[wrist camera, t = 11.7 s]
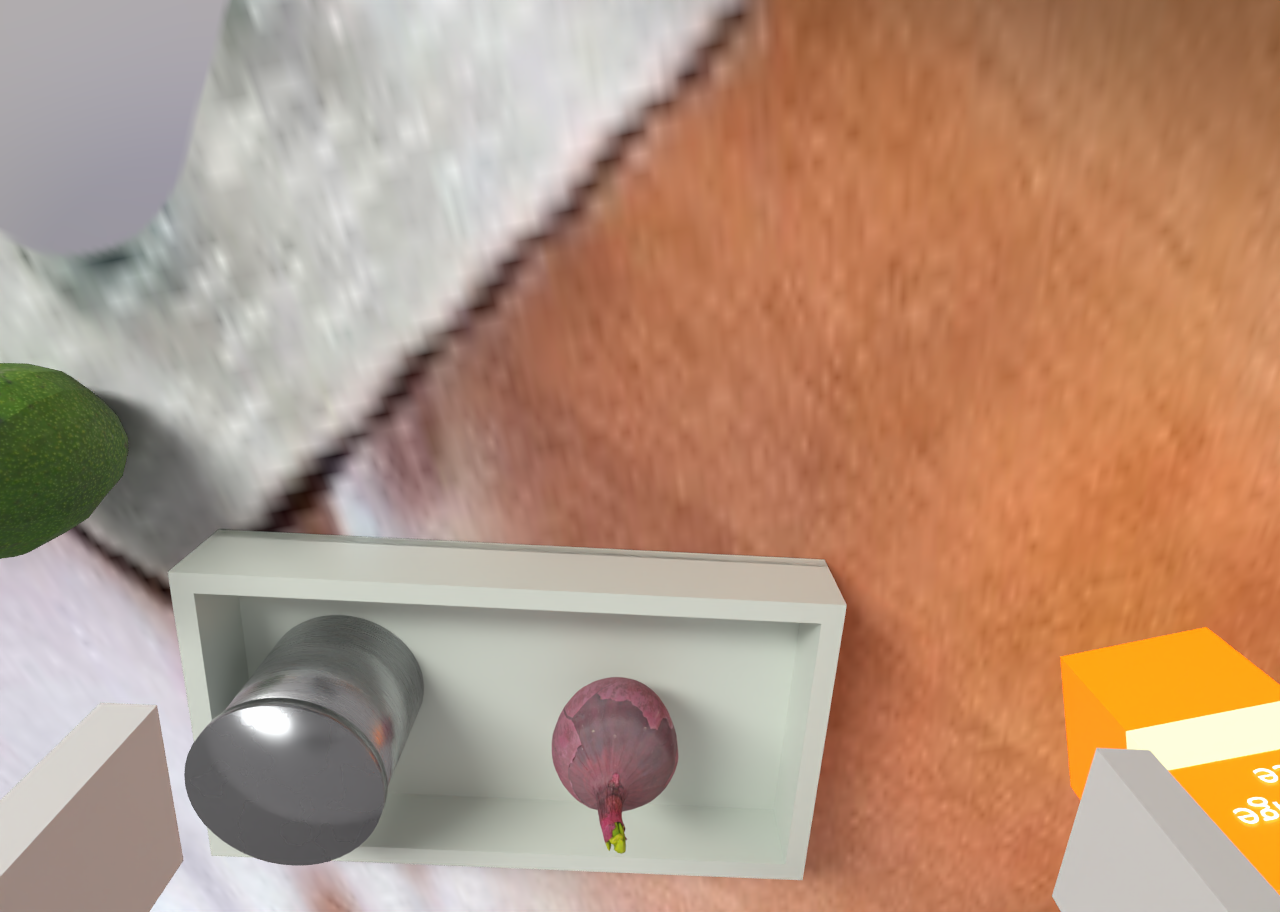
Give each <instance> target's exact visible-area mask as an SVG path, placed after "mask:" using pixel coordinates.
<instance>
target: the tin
mask: <svg viewBox="0 0 1280 912" xmlns="http://www.w3.org/2000/svg"><path fill="white" fill-rule="evenodd" d="M423 696H424V682H423V676H422V672H421V669H420V666H419V664H418V662H417V660H416V658H415V657H414V655H413V653H412V652H411V651H410V649H409V648H408V647H407V646H406V644H405V643H404V642H403V641H402V640H401V639H400V638H398V637H397V636H396V635H394V634H393V633H392V632H391V631H389V630H387V629H386V628H384V627H382V626H380V625H378V624H376V623H374V622H372V621H369V620H366V619H363V618H358V617H354V616H346V615H327V616H320V617H316V618H312V619H309V620H307V621H304V622H302V623H300V624H298V625H296V626H294V627H293V628H292V629H290V630H289V631H288V632H286V633H285V634H284V636H283V637H282V638H281V639H280V640H279V641H278V642H277V644H276V645H275V646H274V648H273V649H272V650H271V651H270V653H269V654H268V655H267V657H266V658H265V659H264V660H263V662H262V663H261V664H260V666H259V667H258V668H257V669H256V671H255V672H254V673H253V675H252V676H251V677H250V678H249V680H248V681H247V682H246V684H245V685H244V686H243V687H242V689H241V690H240V691H239V693H238V694H237V695H236V696H235V698H234V699H233V700H232V702H231V703H230V704H229V705H228V707H227V708H226V709H225V711H224V712H222V713H221V714H219V715H218V716H217V717H215V718H214V719H213V720H212V721H211V722H210V723H209V724H208V725H207V726H206V727H205V728H204V730H203V731H202V732H201V734H200V735H199V736H198V738H197V739H196V740H195V742H194V743H193V745H192V747H191V749H190V751H189V753H188V756H187V760H186V764H185V786H186V790H187V794H188V797H189V799H190V802H191V804H192V806H193V808H194V810H195V811H196V813H197V815H198V816H199V818H200V819H201V820H202V822H203V823H204V824H205V825H206V826H207V827H208V828H209V829H210V830H211V831H212V832H213V833H214V834H215V835H216V836H217V837H219V838H220V839H221V840H222V841H224V842H225V843H227V844H228V845H230V846H231V847H233V848H235V849H237V850H238V851H240V852H242V853H244V854H247V855H249V856H252V857H254V858H257V859H260V860H264V861H267V862H272V863H277V864H284V865H312V864H319V863H324V862H328V861H331V860H334V859H337V858H340V857H342V856H344V855H346V854H348V853H350V852H352V851H353V850H354V849H356V848H357V847H359V846H360V845H361V844H362V843H363V842H364V841H366V840H367V838H368V837H369V836H370V835H371V834H372V832H373V831H374V829H375V827H376V826H377V824H378V822H379V819H380V817H381V814H382V812H383V809H384V807H385V804H386V799H387V794H388V785H389V783H390V781H391V778H392V776H393V773H394V771H395V768H396V766H397V763H398V761H399V759H400V756H401V754H402V751H403V749H404V746H405V744H406V742H407V739H408V737H409V734H410V732H411V729H412V727H413V724H414V722H415V720H416V717H417V715H418V712H419V710H420V707H421V704H422V701H423Z"/></svg>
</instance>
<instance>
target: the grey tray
mask: <svg viewBox="0 0 1280 912" xmlns="http://www.w3.org/2000/svg"><path fill="white" fill-rule="evenodd" d="M168 578H169V584H170V591H171V597H172V604H173V610H174V617H175V623H176V629H177V636H178V642H179V649H180V655H181V662H182V668H183V675H184V681H185V687H186V694H187V700H188V707H189V713H190V720H191V726H192V733H193V739H194V742H195V740H196V739H197V738H198V736H199V735H200V734H201V732H202V731H203V730H204V728H205V727H206V726H207V725H208V724H209V723H210V722H211V721H212V720H213V719H214V718H215V717H217V716H218V715H219V714H221V713H222V712H224V711H225V709H226V708H227V707H228V705H229V704H230V703H231V702H232V700H233V699H234V698H235V696H236V695H237V694H238V693H239V691H240V690H241V689H242V687H243V686H244V685H245V684H246V682H247V681H248V680H249V678H250V677H251V676H252V675H253V673H254V672H255V671H256V669H257V668H258V667H259V666H260V664H261V663H262V662H263V660H264V659H265V658H266V657H267V655H268V654H269V653H270V651H271V650H272V649H273V648H274V646H275V645H276V644H277V642H278V641H279V640H280V639H281V638H282V637H283V636H284V634H285V633H286V632H288V631H289V630H290V629H292V628H293V627H294V626H296V625H298V624H300V623H302V622H304V621H307V620H309V619H312V618H316V617H320V616H327V615H346V616H354V617H358V618H363V619H366V620H369V621H372V622H374V623H376V624H378V625H380V626H382V627H384V628H386V629H387V630H389V631H391V632H392V633H393V634H394V635H396V636H397V637H398V638H400V639H401V640H402V641H403V642H404V643H405V644H406V646H407V647H408V648H409V649H410V651H411V652H412V653H413V655H414V657H415V658H416V660H417V662H418V664H419V666H420V669H421V672H422V676H423V682H424V696H423V701H422V704H421V707H420V710H419V712H418V715H417V717H416V720H415V722H414V724H413V727H412V729H411V732H410V734H409V737H408V739H407V742H406V744H405V746H404V749H403V751H402V754H401V756H400V759H399V761H398V763H397V766H396V768H395V771H394V773H393V776H392V778H391V781H390V783H389V785H388V794H387V799H386V804H385V807H384V809H383V812H382V814H381V817H380V819H379V822H378V824H377V826H376V827H375V829H374V831H373V832H372V834H371V835H370V836H369V837H368V838H367V840H366V841H364V842H363V843H362V844H361V845H360V846H359V847H357V848H356V849H354V850H353V851H352V852H350V853H348V854H346V855H344V856H342V857H340V858H337V859H334V860H331V861H351V862H375V863H399V864H424V865H448V866H472V867H496V868H520V869H545V870H569V871H593V872H617V873H641V874H666V875H690V876H714V877H738V878H762V879H787V880H803V874H804V868H805V861H806V855H807V849H808V843H809V836H810V830H811V824H812V818H813V812H814V805H815V799H816V793H817V787H818V781H819V774H820V768H821V762H822V756H823V750H824V743H825V737H826V731H827V725H828V718H829V712H830V706H831V700H832V694H833V687H834V681H835V675H836V669H837V663H838V656H839V650H840V644H841V638H842V632H843V625H844V619H845V613H846V607H847V605H846V603H845V601H844V599H843V597H842V594H841V592H840V590H839V588H838V586H837V584H836V582H835V580H834V578H833V576H832V574H831V572H830V570H829V568H828V566H827V564H826V562H825V560H822V559H802V558H782V557H762V556H742V555H722V554H702V553H682V552H662V551H642V550H622V549H602V548H582V547H562V546H542V545H522V544H502V543H482V542H462V541H442V540H422V539H402V538H382V537H362V536H342V535H322V534H302V533H282V532H262V531H242V530H222V529H219V530H217V531H216V532H215V533H214V534H213V535H211V536H210V537H209V538H208V539H207V540H205V541H204V542H203V543H202V544H201V545H199V546H198V547H197V548H196V549H195V550H193V551H192V552H191V553H190V554H189V555H187V556H186V557H185V558H184V559H183V560H181V561H180V562H179V563H178V564H177V565H175V566H174V567H173V568H172V569H171V570H169V571H168ZM610 677H624V678H629V679H634V680H637V681H639V682H641V683H643V684H645V685H646V686H648V687H649V688H650V689H652V690H653V691H654V692H655V693H656V694H657V695H658V696H659V698H660V699H661V701H662V702H663V704H664V705H665V707H666V708H667V710H668V712H669V715H670V717H671V720H672V722H673V725H674V728H675V731H676V735H677V744H678V763H677V767H676V770H675V773H674V775H673V777H672V779H671V781H670V782H669V784H668V785H667V787H666V788H665V789H664V791H663V792H662V793H661V794H660V795H658V796H657V797H656V798H655V799H654V800H652V801H651V802H649V803H647V804H645V805H643V806H641V807H638V808H635V809H632V810H628V811H623V812H622V821H623V824H624V826H625V832H624V834H625V837H626V838H627V840H626V851H625V853H622V854H621V853H617V852H616V851H615V850H614V845H613V844H611V849H610V851H608V849H607V846H606V844H605V841H604V837H603V833H602V829H601V826H600V821H599V815H598V810H595V809H591V808H589V807H587V806H585V805H584V804H582V803H580V802H579V801H577V800H576V799H575V798H574V797H573V796H572V795H571V794H570V793H569V792H568V790H567V789H566V788H565V787H564V785H563V784H562V782H561V780H560V778H559V776H558V774H557V772H556V770H555V767H554V764H553V759H552V736H553V732H554V729H555V726H556V723H557V721H558V718H559V716H560V714H561V712H562V710H563V708H564V707H565V705H566V704H567V703H568V701H569V700H570V699H571V698H572V697H573V696H574V694H575V693H576V692H577V691H579V690H580V689H581V688H583V687H584V686H586V685H588V684H590V683H592V682H594V681H597V680H600V679H604V678H610ZM207 829H208V836H209V842H210V849H211V855H212V856H230V857H252V856H249V855H247V854H244V853H242V852H240V851H238V850H237V849H235V848H233V847H231V846H230V845H228V844H227V843H225V842H224V841H222V840H221V839H220V838H219V837H217V836H216V835H215V834H214V833H213V832H212V831H211V830H210V829H209V828H208V827H207Z"/></svg>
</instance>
